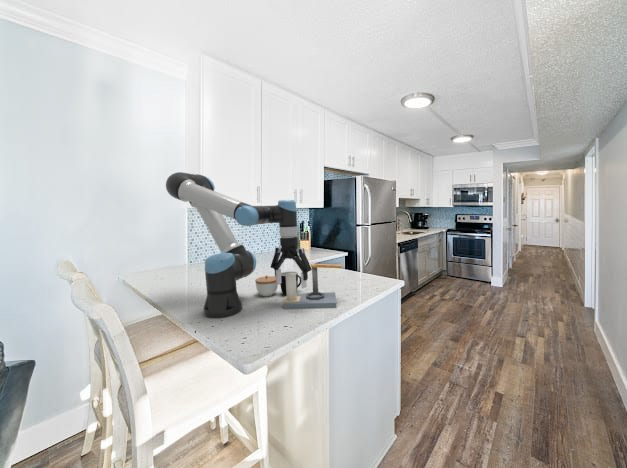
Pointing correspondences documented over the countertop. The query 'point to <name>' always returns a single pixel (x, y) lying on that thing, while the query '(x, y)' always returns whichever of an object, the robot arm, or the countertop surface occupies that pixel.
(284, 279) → the mug
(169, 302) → the countertop surface
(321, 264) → the clip
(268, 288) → the lidded jar
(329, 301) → the grey base with post
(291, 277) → the white cylinder
